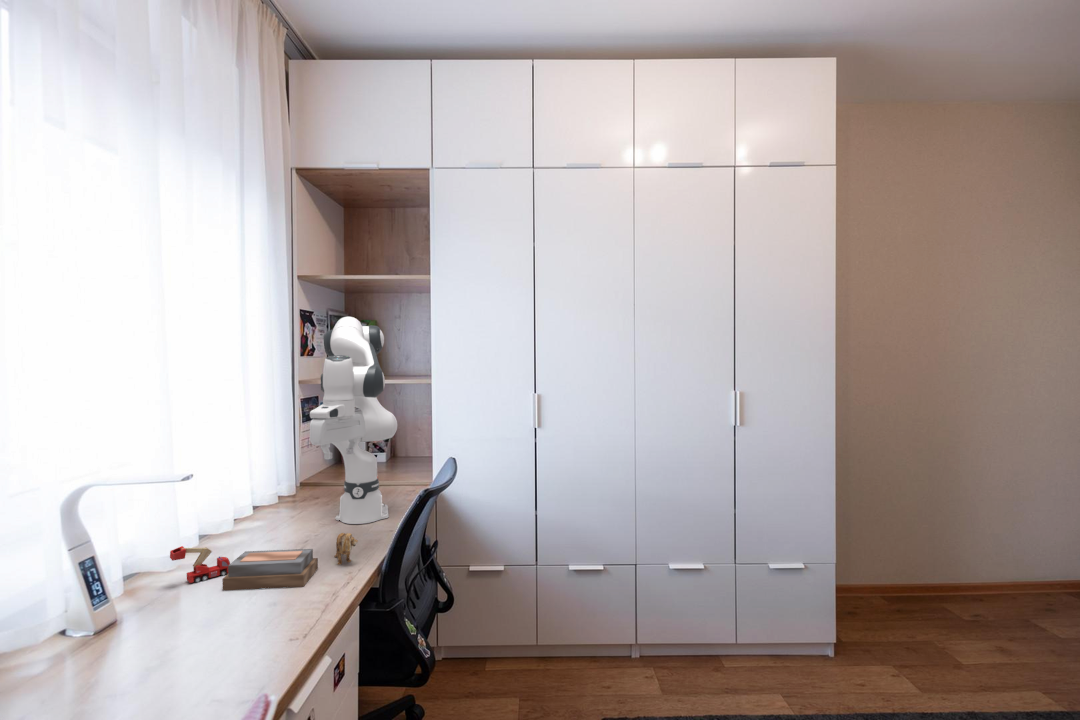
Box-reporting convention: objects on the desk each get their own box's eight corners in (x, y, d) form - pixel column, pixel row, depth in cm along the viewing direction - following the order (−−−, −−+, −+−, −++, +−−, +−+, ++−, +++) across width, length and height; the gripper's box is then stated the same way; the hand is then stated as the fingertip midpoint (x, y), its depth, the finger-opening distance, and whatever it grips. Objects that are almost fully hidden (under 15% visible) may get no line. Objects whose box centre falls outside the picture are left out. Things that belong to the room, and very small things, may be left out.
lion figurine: (359, 565, 157) (359, 533, 157) (340, 569, 155) (339, 537, 154) (346, 549, 170) (345, 520, 170) (328, 553, 167) (327, 523, 167)
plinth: (243, 571, 153) (242, 549, 153) (317, 568, 155) (317, 546, 155) (222, 590, 141) (222, 566, 141) (303, 586, 143) (303, 562, 143)
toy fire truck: (231, 573, 152) (231, 539, 152) (173, 589, 142) (172, 552, 142) (228, 570, 154) (227, 536, 154) (170, 585, 145) (169, 548, 145)
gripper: (353, 407, 175) (354, 450, 175) (305, 412, 156) (305, 461, 155) (370, 407, 172) (370, 451, 172) (322, 413, 153) (323, 462, 153)
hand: (339, 456), depth 164 cm, fingers open, 8 cm apart
